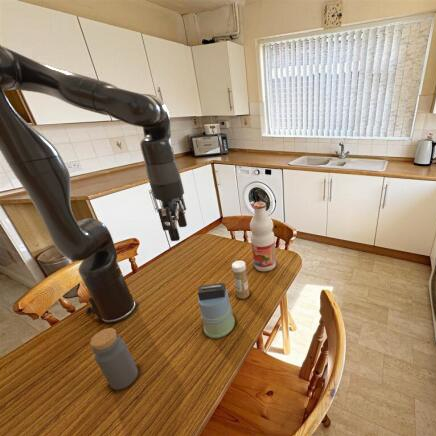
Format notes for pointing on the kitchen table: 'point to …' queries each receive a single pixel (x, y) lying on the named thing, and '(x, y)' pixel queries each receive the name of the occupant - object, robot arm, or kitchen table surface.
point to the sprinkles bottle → (240, 279)
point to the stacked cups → (217, 316)
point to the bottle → (114, 358)
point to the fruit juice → (262, 238)
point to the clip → (211, 291)
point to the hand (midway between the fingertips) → (179, 233)
